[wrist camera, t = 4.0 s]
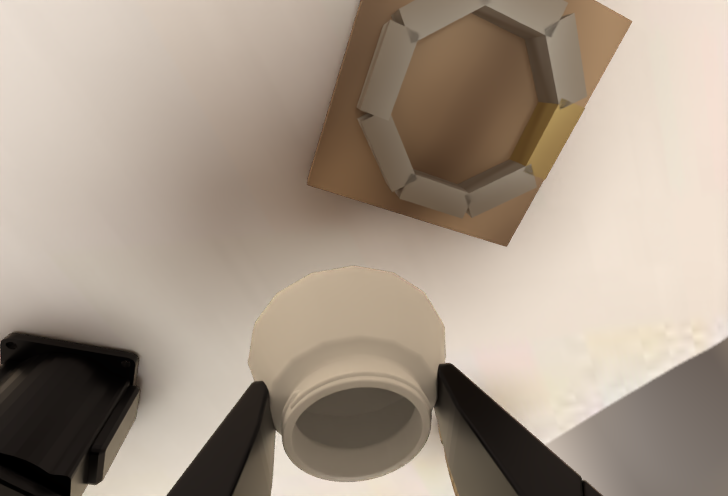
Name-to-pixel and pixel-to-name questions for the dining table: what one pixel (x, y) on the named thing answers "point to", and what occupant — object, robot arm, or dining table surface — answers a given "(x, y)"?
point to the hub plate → (461, 105)
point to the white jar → (350, 371)
